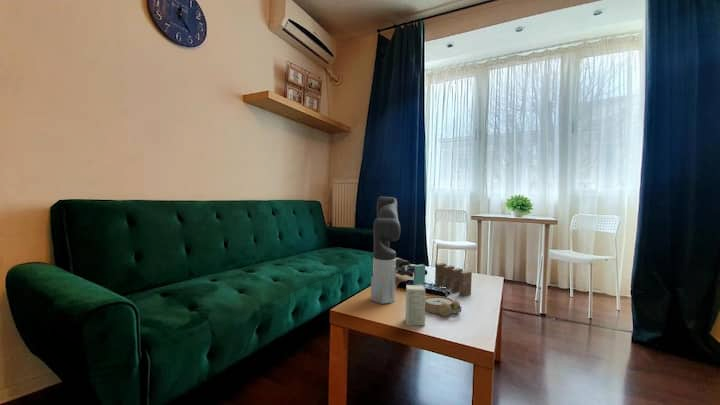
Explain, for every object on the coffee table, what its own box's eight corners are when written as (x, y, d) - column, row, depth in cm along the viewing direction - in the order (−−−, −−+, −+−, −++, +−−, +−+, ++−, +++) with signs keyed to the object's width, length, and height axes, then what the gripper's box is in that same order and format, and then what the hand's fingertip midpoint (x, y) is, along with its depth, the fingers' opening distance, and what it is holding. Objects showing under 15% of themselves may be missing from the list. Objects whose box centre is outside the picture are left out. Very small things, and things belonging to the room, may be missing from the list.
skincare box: (423, 320, 97) (424, 285, 97) (425, 326, 93) (426, 289, 93) (404, 319, 98) (405, 284, 98) (405, 324, 94) (406, 288, 93)
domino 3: (462, 290, 128) (462, 269, 128) (454, 292, 126) (454, 270, 126) (458, 289, 130) (459, 267, 130) (450, 291, 128) (451, 269, 127)
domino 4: (470, 294, 124) (471, 271, 124) (462, 296, 122) (463, 273, 121) (467, 293, 126) (468, 270, 125) (459, 294, 123) (460, 271, 123)
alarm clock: (436, 294, 115) (468, 299, 103) (438, 306, 115) (470, 313, 102) (416, 299, 109) (447, 305, 97) (418, 312, 109) (449, 320, 96)
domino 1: (445, 284, 137) (446, 263, 137) (437, 285, 135) (438, 264, 134) (442, 283, 139) (443, 262, 138) (435, 284, 136) (435, 263, 136)
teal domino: (424, 286, 133) (425, 265, 133) (416, 287, 131) (416, 266, 131) (421, 285, 135) (422, 264, 135) (413, 286, 133) (414, 265, 132)
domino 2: (453, 287, 133) (454, 266, 132) (445, 289, 130) (446, 267, 130) (450, 286, 134) (451, 265, 134) (442, 287, 132) (443, 266, 132)
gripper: (387, 259, 143) (407, 267, 129) (410, 257, 150) (431, 264, 136) (387, 274, 144) (407, 283, 129) (409, 271, 150) (431, 279, 136)
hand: (419, 273), depth 133 cm, fingers open, 8 cm apart
